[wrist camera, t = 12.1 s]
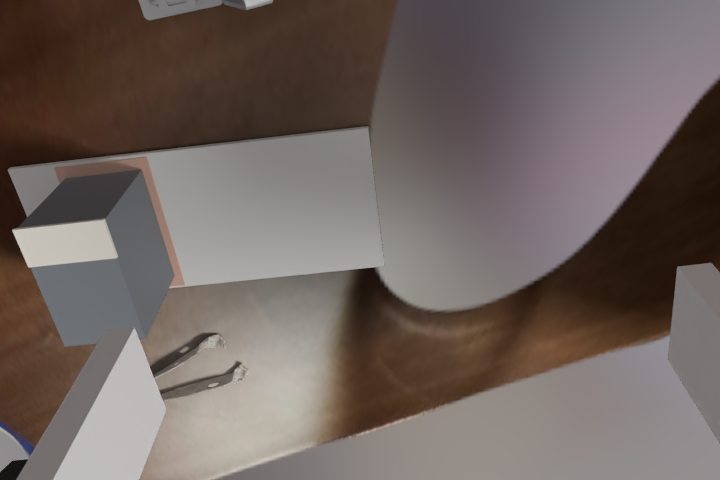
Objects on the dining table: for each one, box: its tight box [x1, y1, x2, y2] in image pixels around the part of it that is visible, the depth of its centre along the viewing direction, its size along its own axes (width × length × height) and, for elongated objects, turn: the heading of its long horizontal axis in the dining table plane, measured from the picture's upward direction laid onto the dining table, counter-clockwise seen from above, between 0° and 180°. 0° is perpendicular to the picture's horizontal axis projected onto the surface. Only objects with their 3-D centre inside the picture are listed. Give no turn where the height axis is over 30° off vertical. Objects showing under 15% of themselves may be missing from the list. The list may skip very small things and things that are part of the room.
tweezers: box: [153, 334, 248, 401], centre depth 51 cm, size 17×5×2 cm, turn 117°
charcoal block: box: [12, 169, 175, 347], centre depth 40 cm, size 8×5×7 cm, turn 7°
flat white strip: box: [8, 126, 385, 288], centre depth 43 cm, size 23×10×1 cm, turn 97°
